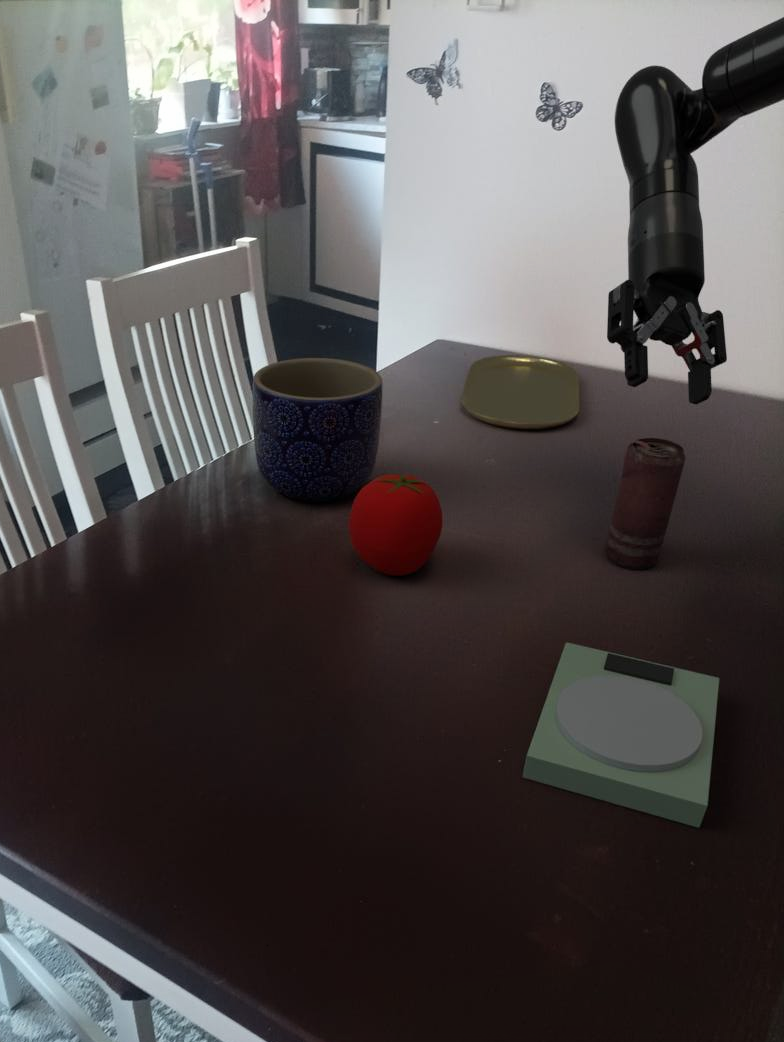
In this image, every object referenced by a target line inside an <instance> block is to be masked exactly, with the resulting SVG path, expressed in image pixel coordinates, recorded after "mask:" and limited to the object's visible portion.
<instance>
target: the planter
mask: <svg viewBox="0 0 784 1042" xmlns="http://www.w3.org/2000/svg"><path fill="white" fill-rule="evenodd" d="M382 406H383V378H382V376H381V375H380V373H378V372H377V371H376V370H375V369H373V368H371V367H370V366H367V365H364V364H363V363H362V364H361V363H358V362H355V361H349V360H345V359H336V358H328V357H325V358H324V357H303V358H292V359H285V360H280V361H277V362H273V363H270V364H268V365H265V366H263V367H261V368H259V370H257V371H256V372H255V373H254V375H253V377H252V422H253V423H252V425H253V441H254V451H255V452H254V453H255V459H256V463H257V467H258V470H259V472H260V475H262V477H263V479H264V480H265V481H266V482H267V484H268V485H269V486H270V487H271V488H272V489H273V490H274V491H276V492H278V493H279V494H281V495H283V496H285V497H287V498H290V499H293V500H297V501H303V502H312V503H313V502H314V503H318V502H319V503H322V502H332V501H337V500H340V499H344V498H346V497H348V496H351V495H353V494H354V493H356V492H357V491H358V490H360V489H361V488H363V487H364V484H366V482H367V481H368V480H369V478H370V477H371V475H372V473H373V472H374V468H375V465H376V462H377V457H378V450H379V443H380V436H381V435H380V434H381V422H382V409H383V407H382Z"/></svg>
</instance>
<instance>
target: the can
mask: <svg viewBox="0 0 784 1042" xmlns="http://www.w3.org/2000/svg"><path fill="white" fill-rule="evenodd" d="M685 462H686V455H685V449H684V447H682V445H680V444H679V443H677V442H674V441H671V440H668V439H665V438H664V439H663V438H657V437H644V438H643V437H642V438H639V439H633V440H631V441H629V442H628V444H627V445H626V449H625V453H624V455H623V461H622V473H621V477H620V482H619V486H618V490H617V494H616V499H615V502H614V503H615V504H614V508H613V511H612V512H613V513H612V516H611V521H610V526H609V530H608V534H607V538H606V543H605V546H604V547H605V548H604V553H605V555H606V558H607V559H608V560H609V561H610V562H611V563H612V564H614V565H616V566H618V567H620V568H623V569H627V570H635V571H637V570H638V571H640V570H647V569H650V568H652V567H653V566H654V565H656V564H657V563H658V562H659V560H660V557H661V556H660V555H661V551H662V549H663V544H664V540H665V537H666V533H667V530H668V526H669V525H668V524H669V522H670V518H671V514H672V510H673V508H674V503H675V499H676V495H677V492H678V488H679V484H680V480H681V477H682V473H683V470H684V467H685V466H684V465H685Z"/></svg>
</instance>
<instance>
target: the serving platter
mask: <svg viewBox="0 0 784 1042" xmlns="http://www.w3.org/2000/svg"><path fill="white" fill-rule="evenodd" d="M460 403H461V405H462V406H463V408H464V409H465V411H466V412H467V413H468V414H470V415H471V416H472V417H474V418H476V419H477V420H479V421H482V422H483V423H488V424H490V425H493V426H497V427H502V428H507V429H514V430H545V429H546V430H547V429H551V428H555V427H556V428H557V427H559V426H562V425H564V424H568V423H569V422H570V421H572V420H573V419H574V418H576V416H577V415H578V414H579V412H580V377H579V373H578V371H576V369H574V368H573V367H571V366H570V365H568V364H566V363H564V362H560V361H557V360H554V359H549V358H546V357H539V356H533V355H524V354H523V355H522V354H521V355H520V354H503V355H502V354H501V355H492V356H488V357H483V358H480V359H477V360H475V361H474V362H473V363H472V364H470V367H469V370H468V374H467V377H466V380H465V384H464V387H463V391H462V395H461V397H460Z"/></svg>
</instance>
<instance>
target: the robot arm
mask: <svg viewBox="0 0 784 1042" xmlns="http://www.w3.org/2000/svg"><path fill="white" fill-rule="evenodd" d="M782 101H784V16H783V17H781V18H779V19H777V20H773V22H770V23H767V24H766V25H764V26H762V27H760V28H758V29H756V30H753V31H752V32H750V33H747V34H746V35H744V36H741V37H739V38H738V39H736V40H733V41H732V42H729V43H728V44H725V45H724V46H722V47H720V48H719V49H718V50H716V51H715V52H714V53H712V54H711V55H710V57H708V58H707V60H706V62H705V65H704V67H703V70H702V75H701V88H699V89H694V90H693V89H692V88H691V87H690V86H689V85H688V84H686V83H685V81H684V80H682V79H681V77H679V76H678V75H677V74H676V72H673V70H671V69H669V68H667V67H666V66H661V65H649V66H645V67H643V68H641V69H639V70H638V71H636V72H635V73H634V74H633V75H631V76H630V78H629V79H628V80H627V81H626V82H625V84H624V85H623V87H622V89H621V91H620V93H619V95H618V98H617V101H616V105H615V110H614V131H615V137H616V142H617V146H618V149H619V154H620V158H621V161H622V165H623V168H624V172H625V174H626V177H627V180H628V198H629V199H628V200H629V202H628V203H629V223H628V229H627V230H628V231H627V270H628V271H627V272H628V278H627V279H626V280H624V281H623V282H621V283H620V284H619V285H617V286H616V287H614V288H613V289H612V290H610V291H609V292H608V295H607V297H608V299H607V324H606V325H607V326H606V327H607V328H606V339H607V341H608V342H609V343H610V344H615V343H616V344H617V345H619V346H620V350H621V352H622V353H623V354H624V356H623V358H624V361H623V362H624V377H625V379H626V383H627V386H629V387H633V388H636V387H639V386H641V385H642V384H644V383H646V382H647V381H648V379H649V353H648V349H649V348H648V345H646V343H647V342H648V340H651V341H654V342H661V343H663V344H665V345H667V346H670V347H671V348H672V350H673V351H674V354H675V355H676V356H677V357H681V358H682V359H683V361H684V363H685V365H686V367H687V369H688V370H689V371H688V372H687V387H688V388H687V390H688V403H690V404H693V405H699V404H701V403H703V402H705V401H707V400H708V399H709V398H710V396H712V390H713V388H712V370H713V369H715V368H716V367H718V366H720V365H723V364H725V363H726V362H727V360H728V356H727V345H726V344H727V343H726V333H725V322H724V314H723V312H722V311H721V310H720V309H715V310H714V311H713V312H711V313H710V312H706V311H703V310H702V307H701V305H700V301H699V296H700V294H701V292H702V290H703V287H704V285H705V281H706V278H705V274H706V273H705V252H704V251H705V250H704V227H703V219H702V213H701V208H700V186H699V183H700V182H699V172H698V166H697V163H696V161H695V159H694V157H693V155H692V154H693V153H695V152H696V151H698V150H699V149H700V148H702V147H703V146H704V145H706V144H707V143H708V142H710V141H711V140H713V139H714V138H715V137H716V136H719V134H721V133H722V132H723V131H725V130H726V129H728V128H729V127H730V126H731V125H733V123H735V122H737V121H738V120H739V119H741V118H744V117H747V116H748V115H751V114H753V113H755V112H759V111H761V110H763V109H765V108H768V107H770V106H772V105H775V104H778V103H780V102H782ZM634 315H635V316H636V318H637V319H636V321H635V323H634ZM691 335H693V337H694V338H693V340H691V341H690V342H688V343H685V342H684V341H685V340H686V339H688V338H689V337H690V336H691ZM712 349H714V353H713V351H712ZM693 350H696V351H697V353H698V355H699V358H697V357H696V356H695V354H694V352H693Z"/></svg>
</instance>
